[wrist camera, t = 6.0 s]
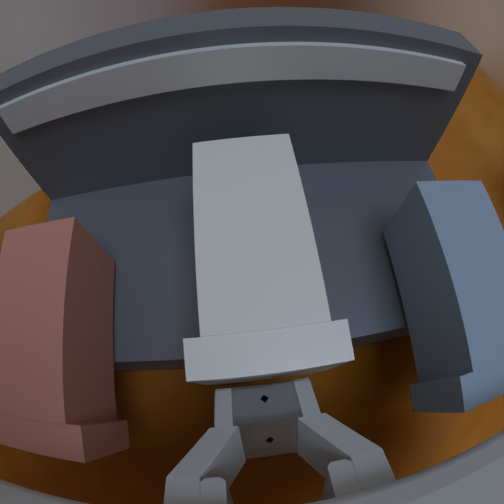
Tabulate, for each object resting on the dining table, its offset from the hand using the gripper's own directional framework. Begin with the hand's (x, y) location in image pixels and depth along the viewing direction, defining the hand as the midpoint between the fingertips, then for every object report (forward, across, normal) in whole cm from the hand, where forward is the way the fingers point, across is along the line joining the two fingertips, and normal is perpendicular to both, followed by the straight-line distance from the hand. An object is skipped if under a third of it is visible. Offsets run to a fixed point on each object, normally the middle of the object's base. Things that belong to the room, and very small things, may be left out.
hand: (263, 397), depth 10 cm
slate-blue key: (+3, -8, 0) cm, 9 cm away
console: (+10, 0, -1) cm, 10 cm away
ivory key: (+5, 0, -2) cm, 5 cm away
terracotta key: (+3, +8, 0) cm, 8 cm away
